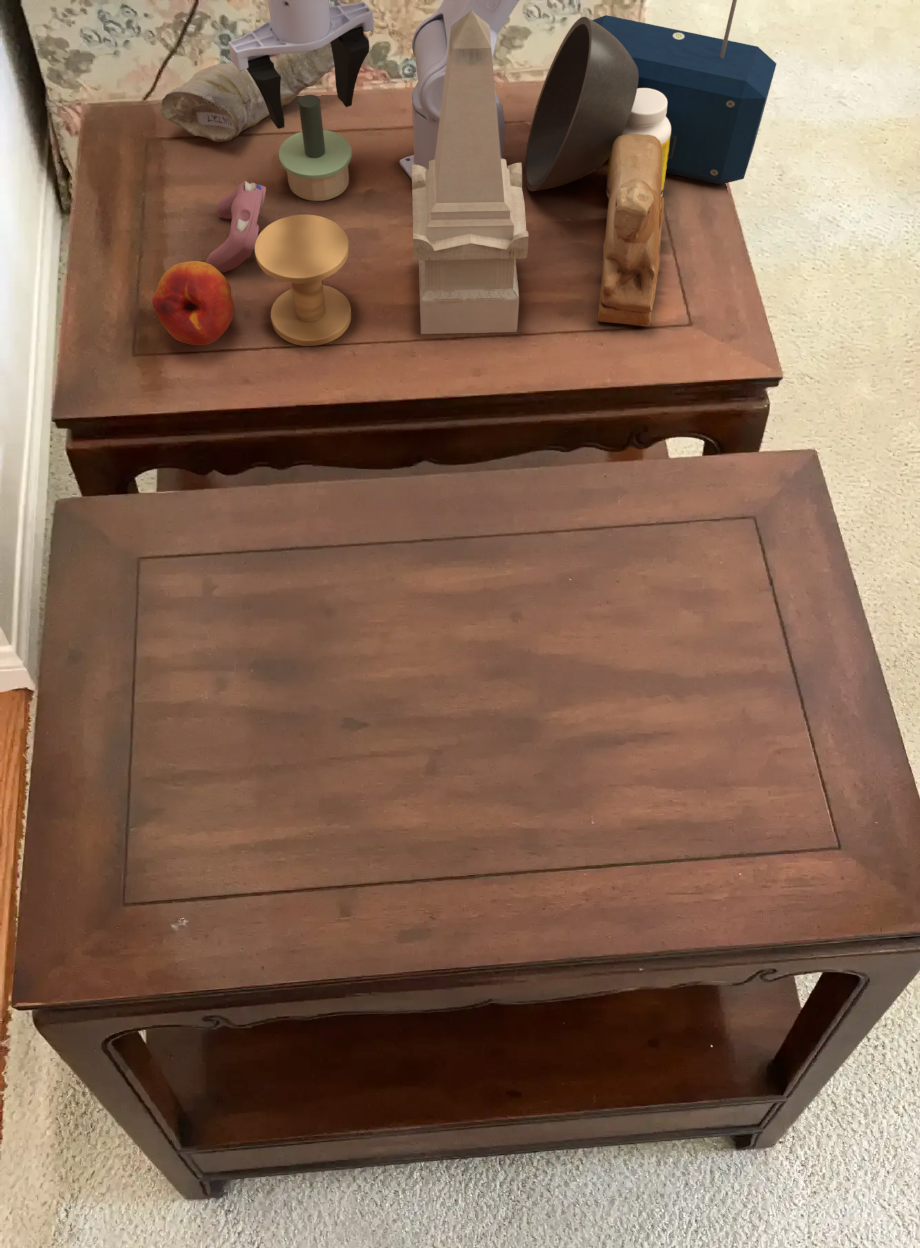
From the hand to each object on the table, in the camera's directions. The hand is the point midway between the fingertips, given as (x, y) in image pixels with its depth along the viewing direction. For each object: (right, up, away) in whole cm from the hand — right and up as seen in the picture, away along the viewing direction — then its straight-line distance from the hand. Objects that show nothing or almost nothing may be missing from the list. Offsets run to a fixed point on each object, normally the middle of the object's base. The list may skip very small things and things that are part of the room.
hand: (311, 111), depth 119 cm
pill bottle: (+34, -6, +6) cm, 36 cm away
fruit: (-10, -24, -5) cm, 27 cm away
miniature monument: (+16, -20, -2) cm, 26 cm away
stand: (+1, -22, -4) cm, 23 cm away
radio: (+37, 0, +10) cm, 39 cm away
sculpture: (+33, -17, 0) cm, 37 cm away
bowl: (+31, -1, -1) cm, 31 cm away
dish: (0, -4, +7) cm, 8 cm away
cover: (0, -3, +4) cm, 5 cm away
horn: (-4, +4, +10) cm, 12 cm away
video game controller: (-8, -13, +2) cm, 15 cm away
